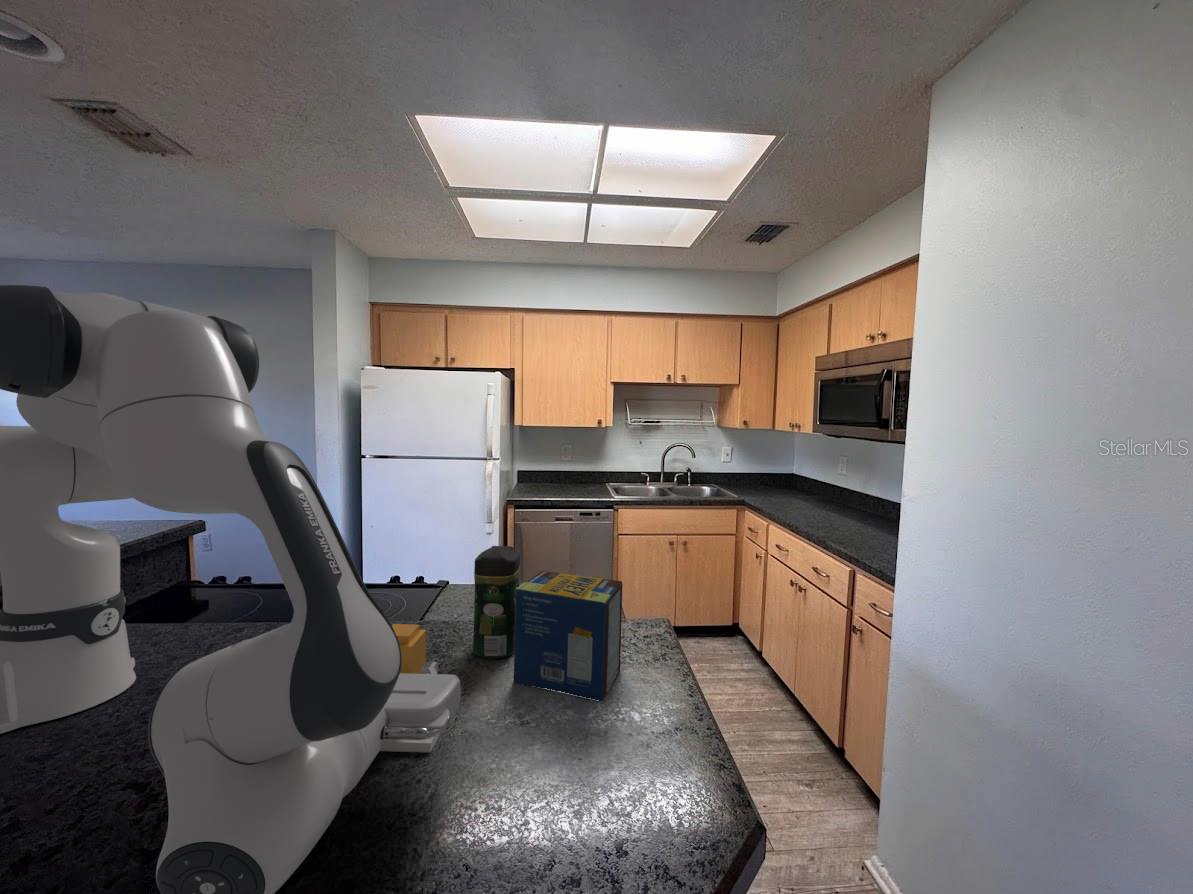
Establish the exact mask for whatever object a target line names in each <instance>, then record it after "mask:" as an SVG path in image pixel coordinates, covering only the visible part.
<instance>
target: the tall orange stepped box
mask: <svg viewBox="0 0 1193 894" xmlns="http://www.w3.org/2000/svg"><path fill="white" fill-rule="evenodd" d="M391 626H392V627H393V629H394V631H395V633H396V636H397V638H398V641H399V644H400V649H401V656H402V665H401V671H400V673H409V674H423V673H422V667H423V665H424V664H425V662H427V629H420V626H421V625H420V624H408V623H407V624H406V623H405V624H404V623H393V624H391Z"/></svg>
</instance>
